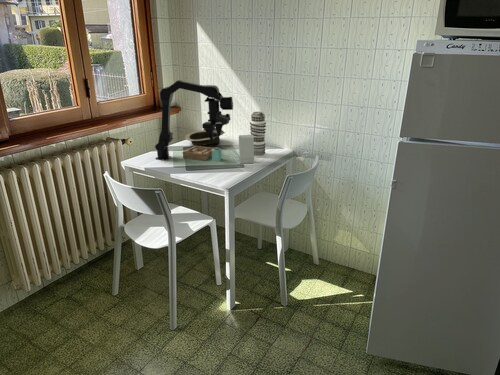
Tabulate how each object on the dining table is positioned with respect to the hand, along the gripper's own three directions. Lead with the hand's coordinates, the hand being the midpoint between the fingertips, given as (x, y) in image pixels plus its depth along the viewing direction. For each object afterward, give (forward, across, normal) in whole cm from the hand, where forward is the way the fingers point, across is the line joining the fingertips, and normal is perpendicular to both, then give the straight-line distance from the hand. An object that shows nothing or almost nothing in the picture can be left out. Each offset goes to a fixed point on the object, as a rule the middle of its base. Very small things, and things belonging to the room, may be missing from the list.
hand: (215, 138), depth 214 cm
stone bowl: (+13, +25, +21) cm, 35 cm away
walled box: (+12, +3, +12) cm, 18 cm away
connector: (+12, -1, -1) cm, 12 cm away
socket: (+12, +3, +12) cm, 18 cm away
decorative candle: (+13, +15, -19) cm, 28 cm away
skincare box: (+13, +1, -18) cm, 22 cm away
